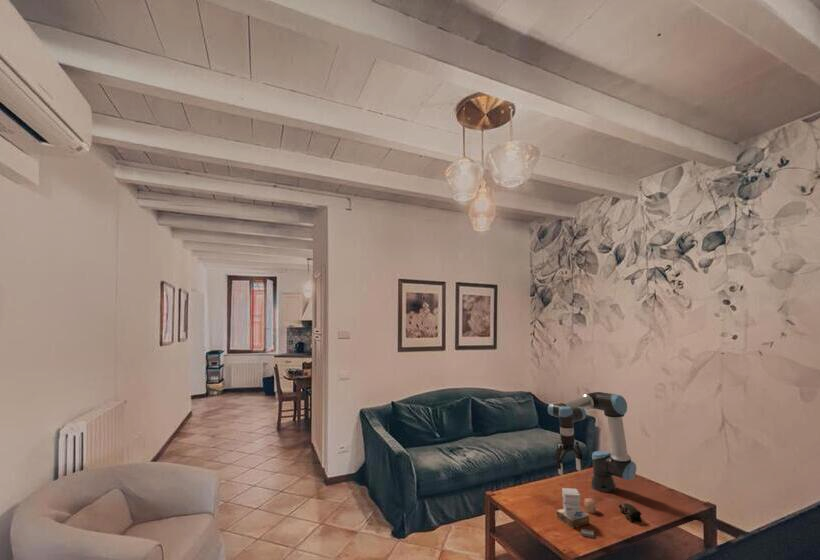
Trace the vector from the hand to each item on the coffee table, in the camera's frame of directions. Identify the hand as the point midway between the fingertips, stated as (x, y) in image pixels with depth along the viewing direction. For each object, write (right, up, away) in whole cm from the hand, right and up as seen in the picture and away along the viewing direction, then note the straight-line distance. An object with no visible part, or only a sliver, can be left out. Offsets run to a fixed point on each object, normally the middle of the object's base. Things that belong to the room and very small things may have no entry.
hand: (569, 472), depth 222 cm
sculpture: (+35, -26, 0) cm, 43 cm away
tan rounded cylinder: (+16, -27, +8) cm, 32 cm away
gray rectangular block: (+2, -25, -17) cm, 30 cm away
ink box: (0, -22, -2) cm, 22 cm away
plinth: (+1, -26, -3) cm, 26 cm away
